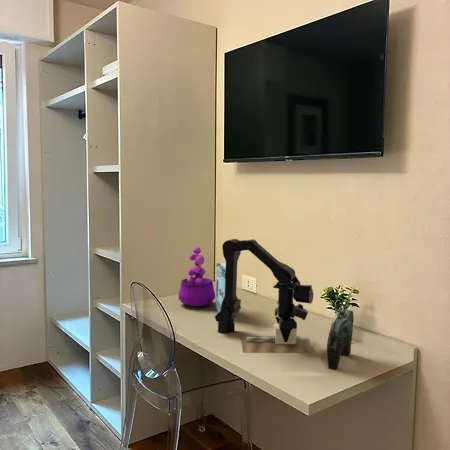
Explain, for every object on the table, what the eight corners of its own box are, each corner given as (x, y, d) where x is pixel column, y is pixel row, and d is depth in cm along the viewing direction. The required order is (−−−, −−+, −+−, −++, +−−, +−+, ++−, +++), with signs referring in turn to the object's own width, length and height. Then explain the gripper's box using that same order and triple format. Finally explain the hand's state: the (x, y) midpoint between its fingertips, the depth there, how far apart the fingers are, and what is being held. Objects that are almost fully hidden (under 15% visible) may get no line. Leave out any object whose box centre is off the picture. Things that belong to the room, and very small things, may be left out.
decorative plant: (222, 304, 238) (223, 246, 235) (197, 312, 224) (197, 250, 221) (196, 298, 250) (196, 243, 247) (170, 305, 236) (170, 246, 233)
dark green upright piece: (339, 350, 175) (341, 298, 173) (356, 353, 172) (358, 300, 170) (322, 368, 158) (324, 311, 156) (341, 372, 155) (343, 314, 153)
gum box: (215, 308, 230) (215, 263, 228) (225, 308, 231) (225, 262, 229) (223, 320, 211) (224, 270, 209) (234, 319, 212) (235, 270, 210)
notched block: (275, 343, 178) (275, 328, 177) (273, 338, 184) (273, 323, 183) (296, 343, 178) (296, 328, 177) (293, 338, 184) (294, 323, 183)
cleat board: (242, 355, 168) (243, 348, 168) (240, 338, 186) (240, 332, 186) (308, 356, 169) (308, 348, 169) (299, 339, 187) (300, 332, 186)
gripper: (311, 306, 170) (309, 348, 171) (302, 294, 188) (300, 331, 190) (281, 306, 170) (280, 347, 171) (274, 294, 188) (273, 331, 190)
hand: (284, 339), depth 180 cm, fingers closed on notched block, 6 cm apart
